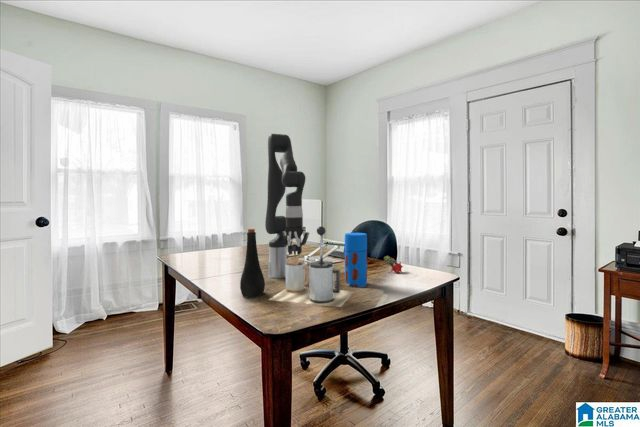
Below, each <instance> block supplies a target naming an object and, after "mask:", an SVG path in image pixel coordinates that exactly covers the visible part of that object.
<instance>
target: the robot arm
mask: <svg viewBox="0 0 640 427" xmlns="http://www.w3.org/2000/svg"><path fill="white" fill-rule="evenodd" d="M291 140H292V139H291V138H290V136H289V135H287V134H281V133H270V134H269V135H268V138H267V152H268V153H267V157H268V161H267V162H268V172H267V199H266V200H267V204H266V213H265V214H266V215H265V224H264V225H265V230H266V233H267V234H269V235H275V234H276V236H275V237H274V238H273V239H271V240H269V241H268V253H269V254H268V256H269V257H268V258H269V260H268V261H267V278H268V279H282V278H285V263H286V262H287V261H288V257H287V256H288V254H289V255H292V254H293V251H292V250H291V246H292V245H293V241H294V240H295V242H296V245H298V247H297V251H296V256H300V255H301V253H302V252H303V251H302V249H303V246H305V245H306V243H307V240H308V239H309V235H310V232H309V231H305V230H304V226H303V225H304V219H303V218H304V216H303V215H304V214H303V191H304V187H305V185H306V184H305V183H306V174H305V173H304V172H303V171H301V170H300V171H298V167H297V164H296V161H295V158H294V152H293V147H292V141H291ZM276 153H279V154H281V153H283V154H282V156H281V157H280V159H279V163H278V160H277V157H276ZM286 188H295V191H291V192H288V193H286V190H287V189H286ZM285 193H286V195H285ZM284 195H285V216H284V215H277V214H276V213H277V208H278V206H279V204H280V202H281V201H282V199H283V197H284ZM302 236H303V238H302ZM287 253H288V254H287Z"/></svg>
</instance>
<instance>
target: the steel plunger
mask: <svg viewBox="0 0 640 427" xmlns="http://www.w3.org/2000/svg"><path fill="white" fill-rule="evenodd" d="M316 233H317V235H319V247H320V249H319V255H320V256H319V257H320V260H319V261H320V264H323V261H324V260H323V258H324V257H323V256H324V255H323V252H324V251H323V250H324V246H323V242H324V241H323V236H324V235H325V234H326V228H325V226H318V227H317V229H316ZM328 267H331V266H328ZM328 267H327V268H328ZM314 268H322V267H314Z"/></svg>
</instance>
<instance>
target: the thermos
mask: <svg viewBox="0 0 640 427" xmlns="http://www.w3.org/2000/svg"><path fill="white" fill-rule="evenodd" d="M344 280H345V284H348V287H350V288H363V287H366V286H367V284H368V235H367V233H364V232H349V233H344Z"/></svg>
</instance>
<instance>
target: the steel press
mask: <svg viewBox="0 0 640 427" xmlns="http://www.w3.org/2000/svg"><path fill="white" fill-rule="evenodd" d="M328 266H331V267H328ZM308 267H309V284H308V288H309V297H310V301H311V302H314V303H329V302H332V301H334V297H335V293H339V292H340V290H341V269H335V265H334V264H333V261H328V260H326V261H325V260H323V264H320V260H315V261H313V262H312V261H311V263H310V264H309V265H308ZM314 267H322V268H314ZM327 267H328V268H327ZM335 274H336V275H335ZM335 282H336V283H335ZM335 286H336V288H335Z"/></svg>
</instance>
